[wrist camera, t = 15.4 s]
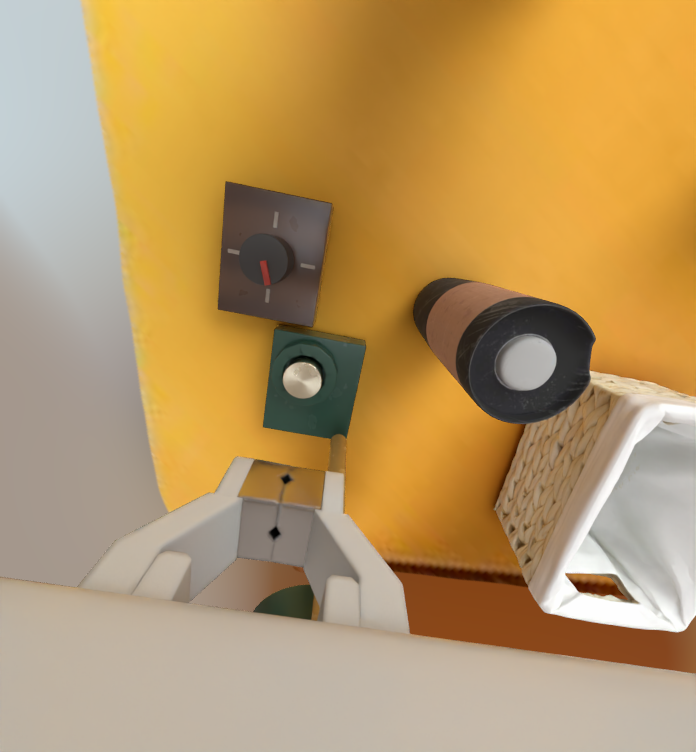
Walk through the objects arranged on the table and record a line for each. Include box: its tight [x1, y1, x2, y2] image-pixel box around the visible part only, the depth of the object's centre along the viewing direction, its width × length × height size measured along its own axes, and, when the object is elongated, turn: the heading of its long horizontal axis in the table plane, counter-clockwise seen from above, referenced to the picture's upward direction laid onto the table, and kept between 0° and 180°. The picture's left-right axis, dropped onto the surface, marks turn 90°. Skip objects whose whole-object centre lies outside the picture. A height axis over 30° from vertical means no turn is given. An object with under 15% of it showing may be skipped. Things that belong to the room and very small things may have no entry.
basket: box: [494, 371, 696, 632], centre depth 38 cm, size 24×16×15 cm
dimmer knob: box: [239, 234, 294, 286], centre depth 33 cm, size 4×4×4 cm
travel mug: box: [413, 278, 596, 424], centre depth 30 cm, size 8×8×20 cm
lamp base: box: [263, 324, 366, 439], centre depth 40 cm, size 12×10×4 cm
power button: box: [283, 357, 323, 399], centre depth 36 cm, size 4×4×2 cm
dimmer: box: [218, 181, 333, 327], centre depth 36 cm, size 12×10×3 cm
